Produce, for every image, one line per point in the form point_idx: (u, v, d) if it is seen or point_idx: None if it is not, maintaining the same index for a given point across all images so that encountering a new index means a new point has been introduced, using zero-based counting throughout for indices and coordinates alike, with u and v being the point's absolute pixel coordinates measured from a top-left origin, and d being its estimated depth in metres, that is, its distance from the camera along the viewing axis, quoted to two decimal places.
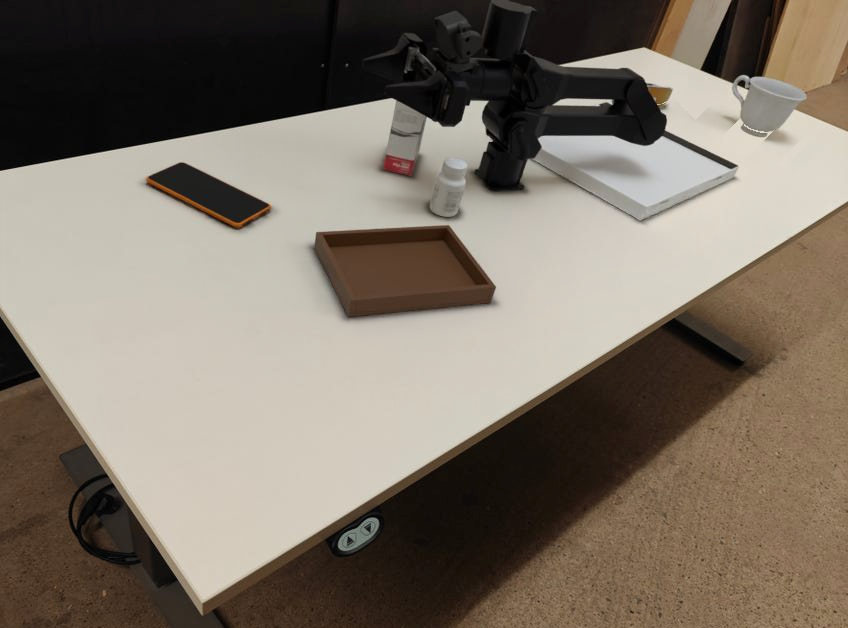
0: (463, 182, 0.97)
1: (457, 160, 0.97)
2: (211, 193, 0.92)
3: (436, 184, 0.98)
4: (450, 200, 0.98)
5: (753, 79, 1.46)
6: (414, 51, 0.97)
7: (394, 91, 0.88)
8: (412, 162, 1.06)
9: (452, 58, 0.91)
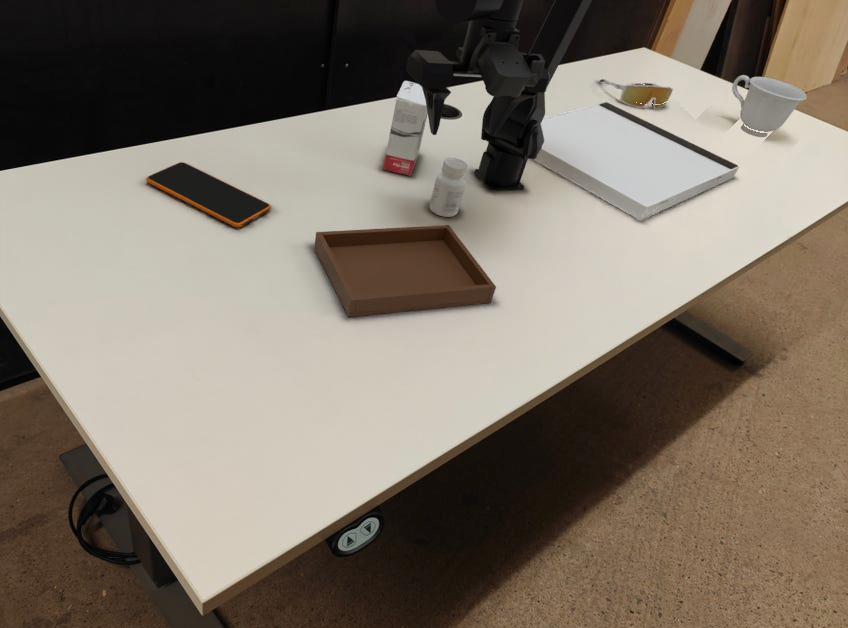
0: (463, 182, 0.97)
1: (457, 160, 0.97)
2: (211, 193, 0.92)
3: (436, 184, 0.98)
4: (450, 200, 0.98)
5: (753, 79, 1.46)
6: None
7: None
8: (412, 162, 1.06)
9: None
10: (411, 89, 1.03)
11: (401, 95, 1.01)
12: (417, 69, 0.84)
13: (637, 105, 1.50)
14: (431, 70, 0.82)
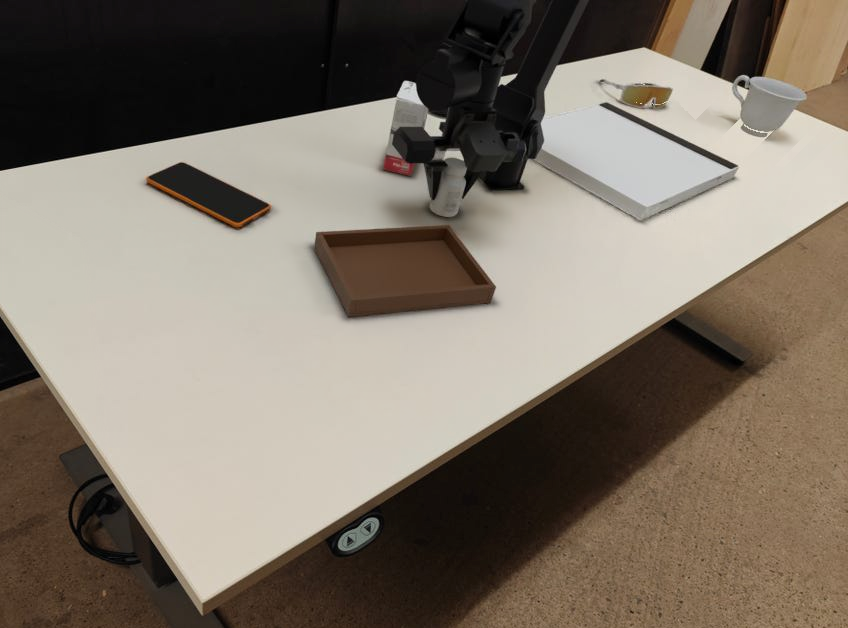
0: (463, 182, 0.97)
1: (457, 160, 0.97)
2: (211, 193, 0.92)
3: None
4: (450, 200, 0.98)
5: (753, 79, 1.46)
6: None
7: None
8: None
9: None
10: (411, 89, 1.03)
11: (400, 95, 1.01)
12: (402, 146, 0.90)
13: (637, 105, 1.50)
14: (414, 148, 0.89)
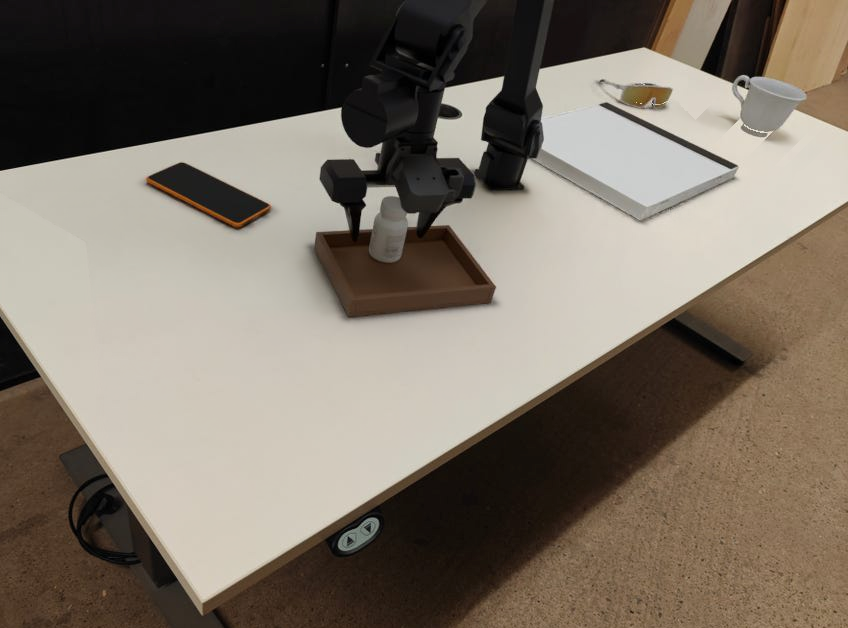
0: (404, 224, 0.85)
1: (397, 199, 0.84)
2: (211, 193, 0.92)
3: (374, 226, 0.85)
4: (390, 245, 0.85)
5: (753, 79, 1.46)
6: None
7: None
8: None
9: None
10: None
11: None
12: (328, 182, 0.77)
13: (637, 105, 1.50)
14: (341, 186, 0.76)
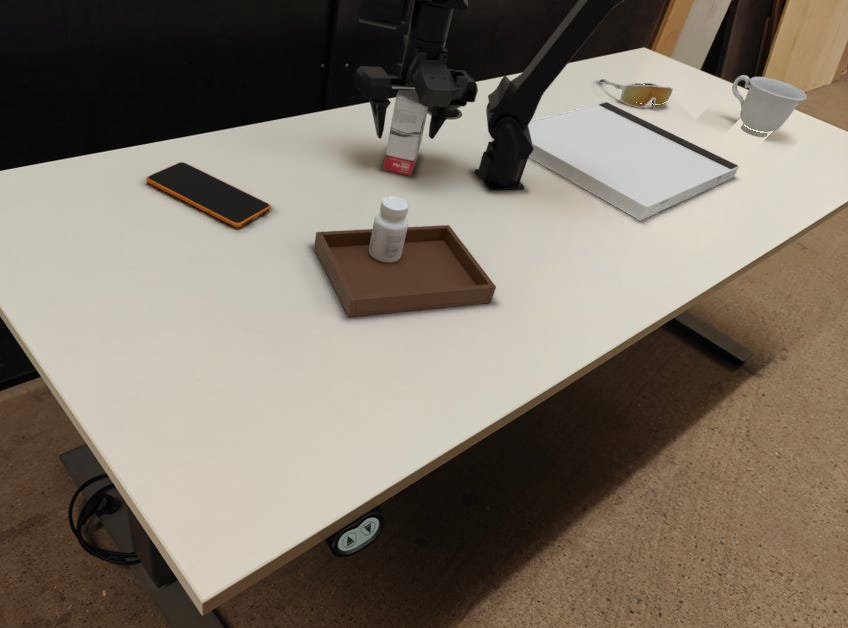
0: (404, 224, 0.85)
1: (397, 199, 0.84)
2: (211, 193, 0.92)
3: (374, 226, 0.85)
4: (390, 245, 0.85)
5: (753, 79, 1.46)
6: None
7: None
8: (412, 162, 1.06)
9: None
10: None
11: (400, 95, 1.01)
12: (361, 83, 0.98)
13: (637, 105, 1.50)
14: (372, 84, 0.97)
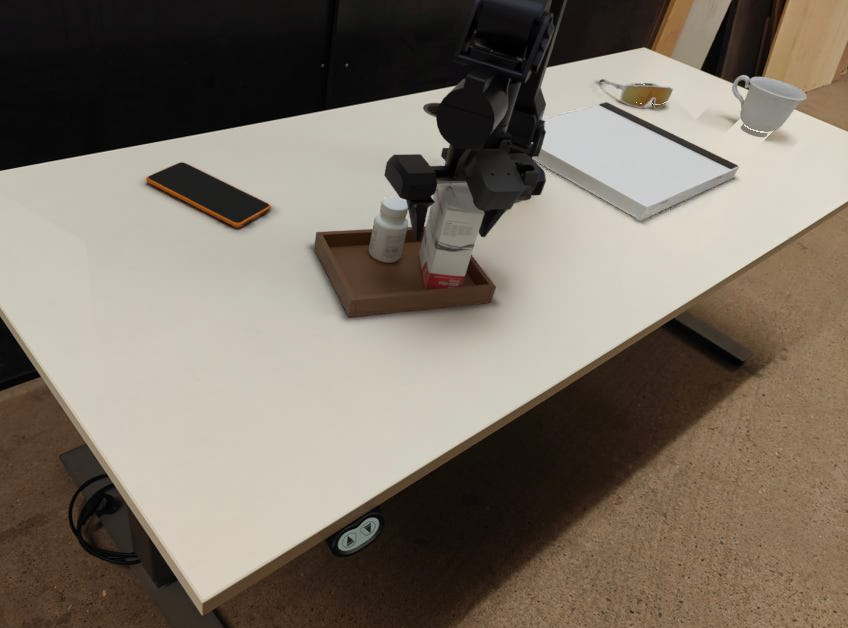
0: (404, 224, 0.85)
1: (397, 199, 0.84)
2: (211, 193, 0.92)
3: (374, 226, 0.85)
4: (390, 245, 0.85)
5: (753, 79, 1.46)
6: None
7: None
8: (463, 278, 0.83)
9: None
10: (454, 189, 0.80)
11: (449, 202, 0.77)
12: (396, 178, 0.74)
13: (637, 105, 1.50)
14: (411, 182, 0.73)
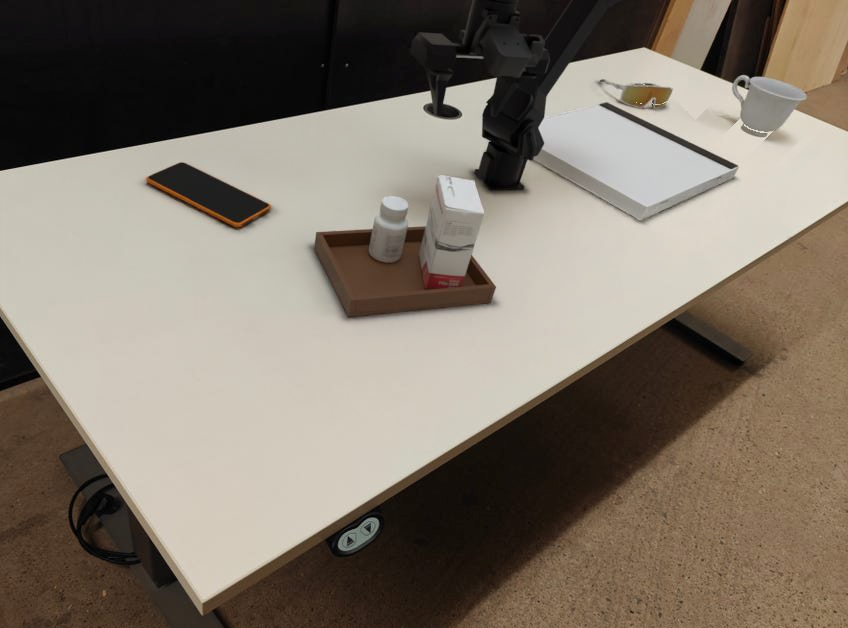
0: (404, 224, 0.85)
1: (397, 199, 0.84)
2: (211, 193, 0.92)
3: (374, 226, 0.85)
4: (390, 245, 0.85)
5: (753, 79, 1.46)
6: None
7: None
8: (463, 278, 0.83)
9: None
10: (454, 189, 0.80)
11: (449, 202, 0.77)
12: (421, 51, 0.86)
13: (637, 105, 1.50)
14: (435, 51, 0.85)
